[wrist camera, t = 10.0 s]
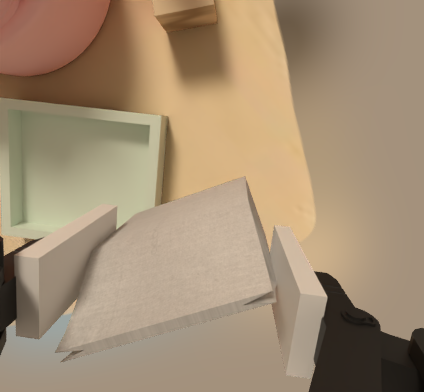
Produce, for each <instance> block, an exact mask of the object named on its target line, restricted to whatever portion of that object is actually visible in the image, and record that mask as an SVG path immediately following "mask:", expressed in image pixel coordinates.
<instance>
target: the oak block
mask: <svg viewBox="0 0 424 392" xmlns="http://www.w3.org/2000/svg"><path fill="white" fill-rule="evenodd" d="M152 4H153V9H154V15H155V17H156V19H157V20H158V21H159V23H160V24H161V25H162V27H163V28H164V29H165V31H166V32H167V33H168V32H174V31H179V30H184V29H190V28H195V27H200V26H205V25H211V24H216V23H217V16H216V8H215V1H214V0H152Z"/></svg>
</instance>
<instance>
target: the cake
mask: <svg viewBox="0 0 424 392" xmlns="http://www.w3.org/2000/svg"><path fill="white" fill-rule="evenodd" d="M109 4H110V0H0V73H2V74H8V75H14V76H35V75H41V74H45V73H49V72H52V71H55V70H57V69H59V68H61V67H63V66H65V65H67V64H68V63H70V62H71V61H73V60H74V59H75V58H77V57H78V56H79V55H80V54H81V53H82V52H83V51H84V50H85V49H86V48H87V47H88V46H89V45H90V43H91V42H92V41H93V39H94V38H95V36H96V35H97V33H98V31H99V30H100V28H101V26H102V24H103V22H104V20H105V17H106V14H107V11H108V8H109Z"/></svg>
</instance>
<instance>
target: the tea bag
mask: <svg viewBox="0 0 424 392" xmlns="http://www.w3.org/2000/svg"><path fill="white" fill-rule="evenodd" d="M276 285H277V281H276V277H275V273H274V269H273V265H272V261H271V257H270V252H269V248H268V244H267V240H266V236H265V233H264V230H263V227H262V224H261V221H260V218H259V215H258V213H257V210H256V207H255V204H254V201H253V198H252V195H251V192H250V189H249V186H248V183H247V181H246V178H245V176H244V177H241V178H238V179H235V180H232V181H229V182H226V183H223V184H221V185H218V186H215V187H212V188H209V189H206V190H203V191H200V192H197V193H194V194H191V195H188V196H185V197H183V198H180V199H177V200H174V201H171V202H168V203H165V204H162V205H159V206H156V207H153V208H150V209H147V210H145V211H142V212H139V213H136V214H135V215H133V216H132V217H131V218H130V219H129V220H127V221H126V222H125V223H124V224H123V225H122V226H120V227H119V228H118V229H117V230H116V231H114V232H113V233H112V234H111V235H110V236H109V237H107V238H106V239H105V240H104V241H103V242H101V243H100V244H99V245H98V246H97V247H96V248H94V249H93V250H92V252H91V254H90V258H89V261H88V265H87V268H86V271H85V275H84V278H83V281H82V285H81V288H80V292H79V295H78V298H77V302H76V305H75V308H74V310H73V313H72V316H71V319H70V321H69V324H68V327H67V329H66V332H65V334H64V336H63V338H62V340H61V342H60V344H59V346H58V348H57V350H56V351H55V353H57V352H69V351H73V352H72V353H70V355H68V356H67V357H66V358H65V359H63V360H62V361H61V362H64V361H67V360H71V359H75V358H78V357H82V356H85V355H89V354H93V353H96V352H100V351H103V350H107V349H110V348H114V347H118V346H121V345H124V344H128V343H132V342H135V341H139V340H143V339H146V338H150V337H153V336H157V335H161V334H164V333H168V332H171V331H175V330H178V329H182V328H186V327H189V326H193V325H196V324H200V323H203V322H207V321H211V320H214V319H218V318H221V317H224V316H228V315H232V314H235V313H239V312H243V311H246V310H249V309H254V308H257V307H261V306H264V305H268V304H272V303H275V302H277V301H276V295H275V287H276Z"/></svg>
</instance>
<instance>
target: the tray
mask: <svg viewBox="0 0 424 392" xmlns="http://www.w3.org/2000/svg"><path fill="white" fill-rule="evenodd" d="M167 123H168V117H167V116H160V115H151V114H142V113H134V112H125V111H116V110H107V109H98V108H89V107H80V106H72V105H63V104H54V103H45V102H36V101H27V100H18V99H10V98H1V97H0V193H1V227H2V235H7V236H14V237H21V238H29V239H39V238H43V237H46V236H48V235H50V234H51V233H53V232H55V231H56V230H58V229H60V228H62V227H63V226H65V225H67V224H68V223H70V222H72V221H74V220H75V219H77V218H79V217H81V216H82V215H84V214H86V213H87V212H89V211H91V210H93V209H94V208H96V207H98V206H99V205H101V204H108V205H117V226H116V230H117V229H118V228H119V227H120V226H122V225H123V224H124V223H125V222H126V221H127V220H129V219H130V218H131V217H132V216H133V215H135V214H136V213H139V212H142V211H145V210H147V209H150V208H153V207H156V206H159V205H161V199H162V186H163V173H164V161H165V148H166V136H167Z"/></svg>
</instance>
